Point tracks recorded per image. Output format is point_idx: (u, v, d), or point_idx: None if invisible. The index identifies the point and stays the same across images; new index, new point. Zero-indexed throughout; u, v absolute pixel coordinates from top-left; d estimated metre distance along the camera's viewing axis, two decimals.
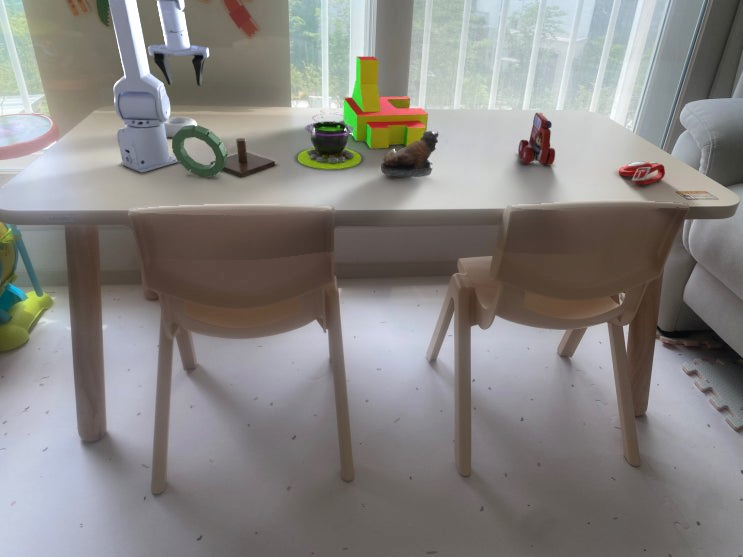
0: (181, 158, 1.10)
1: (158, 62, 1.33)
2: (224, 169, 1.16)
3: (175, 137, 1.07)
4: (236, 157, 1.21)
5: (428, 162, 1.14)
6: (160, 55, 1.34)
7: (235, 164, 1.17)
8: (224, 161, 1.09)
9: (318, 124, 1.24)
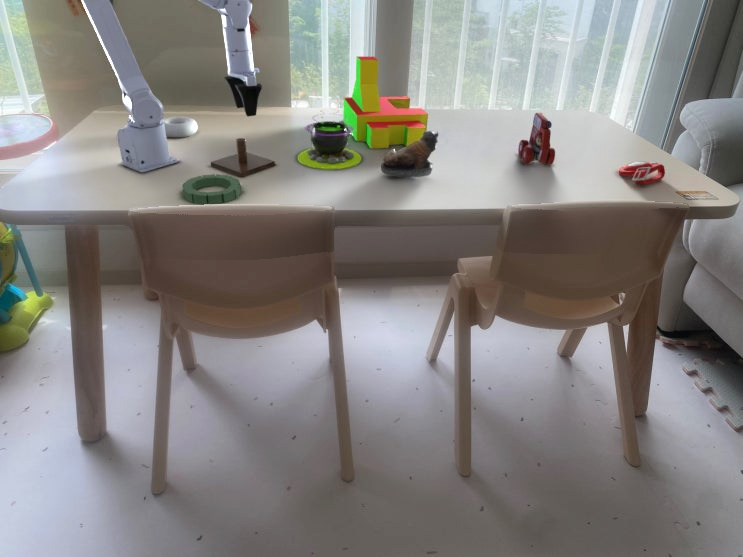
0: None
1: (225, 80, 1.24)
2: (224, 169, 1.16)
3: None
4: (236, 157, 1.21)
5: (428, 162, 1.14)
6: None
7: (235, 164, 1.17)
8: None
9: (318, 124, 1.24)
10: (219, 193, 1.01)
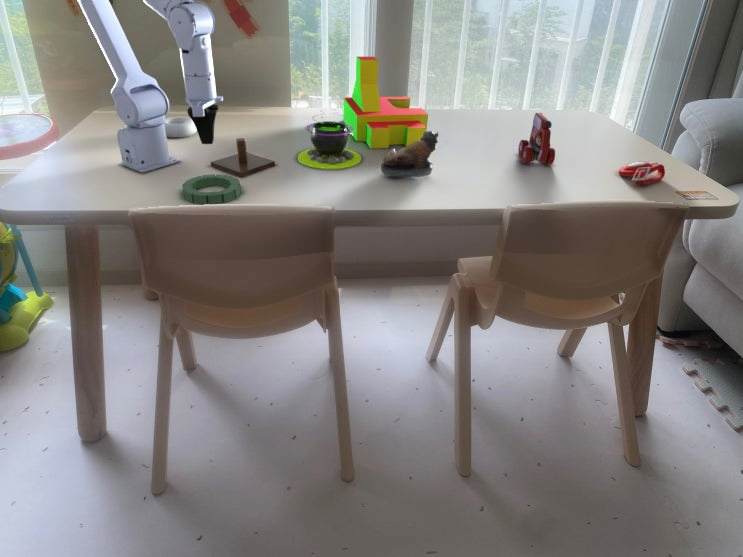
0: None
1: None
2: (224, 169, 1.16)
3: None
4: (236, 157, 1.21)
5: (428, 162, 1.14)
6: None
7: (235, 164, 1.17)
8: None
9: (318, 124, 1.24)
10: (219, 193, 1.01)
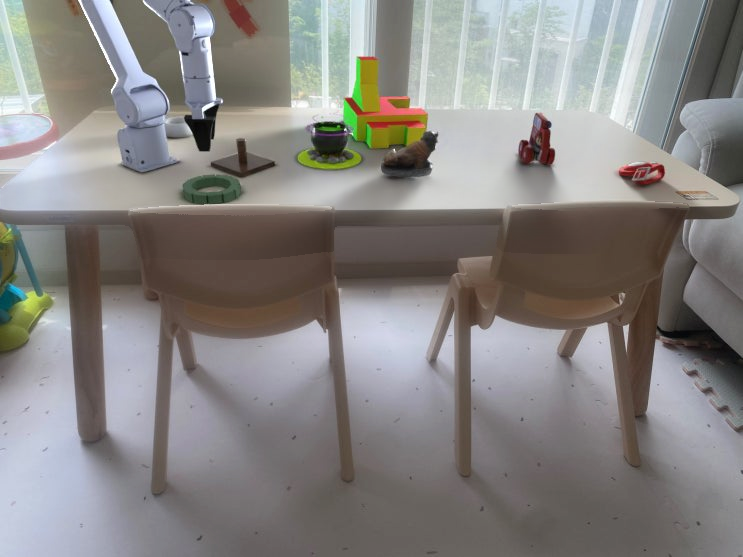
0: None
1: None
2: (224, 169, 1.16)
3: None
4: (236, 157, 1.21)
5: (428, 162, 1.14)
6: None
7: (235, 164, 1.17)
8: None
9: (318, 124, 1.24)
10: (219, 193, 1.01)
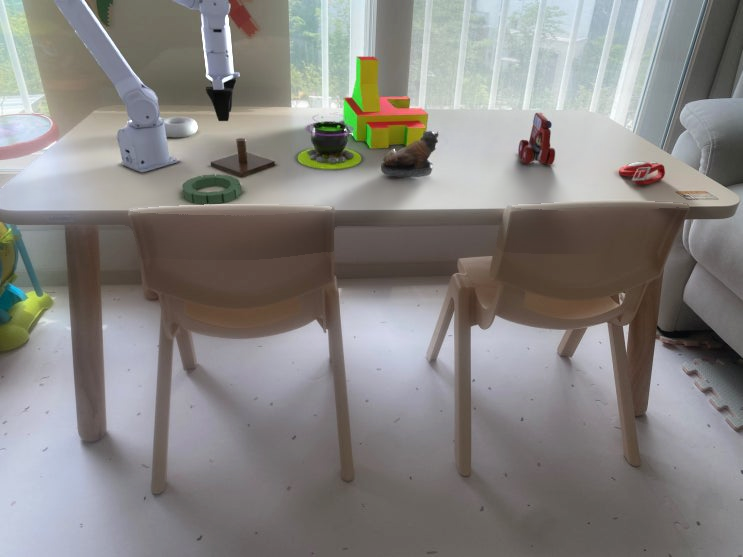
0: None
1: None
2: (224, 169, 1.16)
3: None
4: (236, 157, 1.21)
5: (428, 162, 1.14)
6: None
7: (235, 164, 1.17)
8: None
9: (318, 124, 1.24)
10: (219, 193, 1.01)
